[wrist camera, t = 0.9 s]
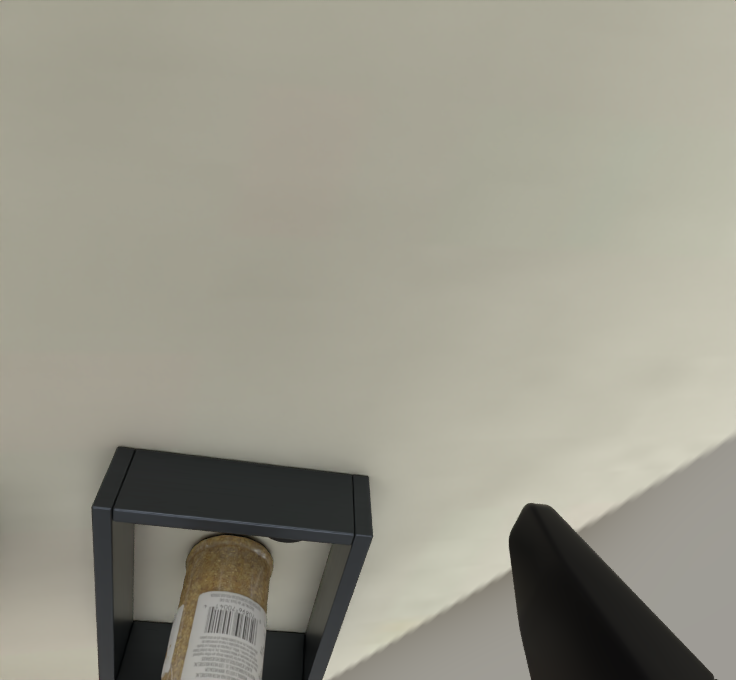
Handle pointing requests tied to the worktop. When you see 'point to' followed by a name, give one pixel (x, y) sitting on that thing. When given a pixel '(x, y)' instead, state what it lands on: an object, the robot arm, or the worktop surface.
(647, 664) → the robot arm
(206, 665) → the sprinkles bottle
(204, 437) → the worktop surface
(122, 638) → the rectangular frame
